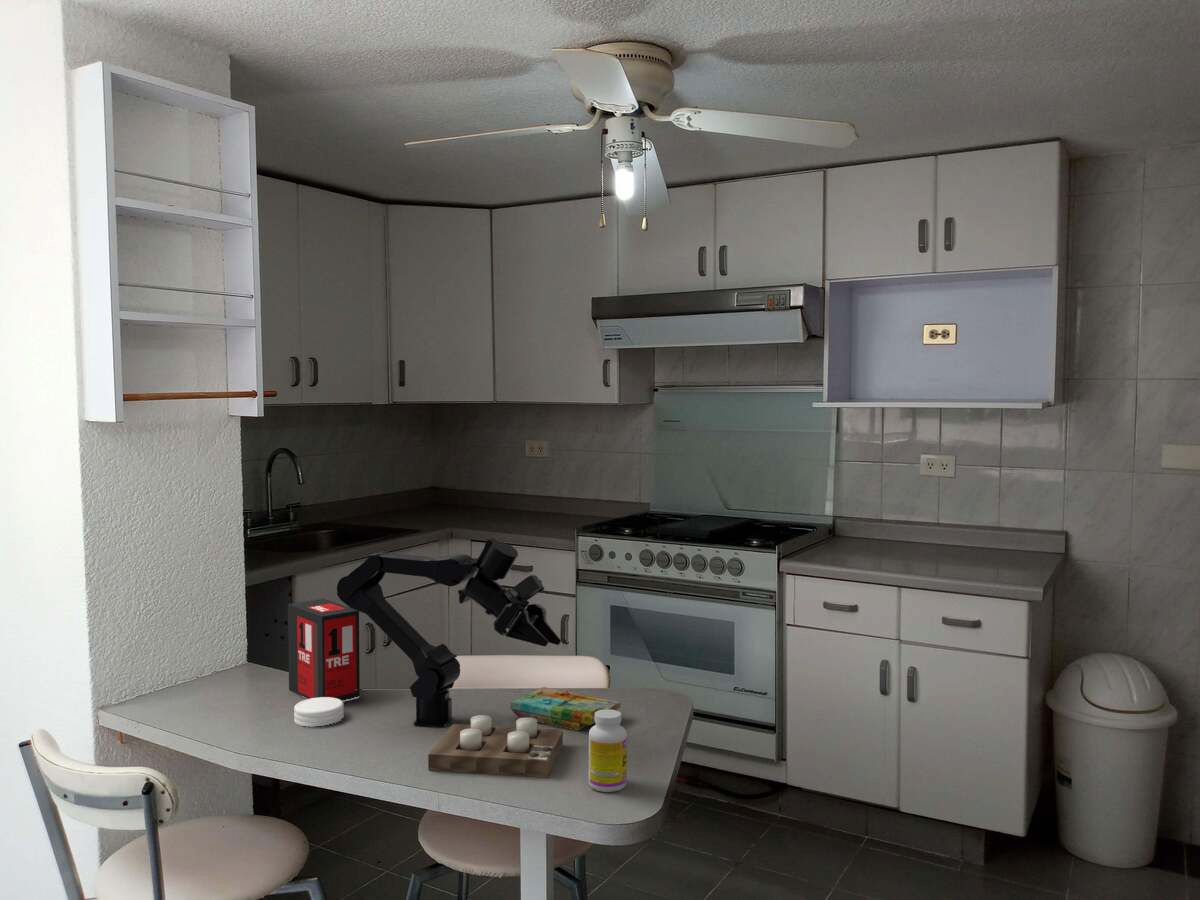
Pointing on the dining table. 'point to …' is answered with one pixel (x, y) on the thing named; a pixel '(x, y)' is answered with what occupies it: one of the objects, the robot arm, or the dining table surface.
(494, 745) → the button board
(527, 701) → the puzzle game
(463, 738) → the outer button
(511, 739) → the outer button
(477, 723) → the inner button
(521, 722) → the inner button
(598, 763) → the supplement bottle
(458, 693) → the dining table surface
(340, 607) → the cleaning product box
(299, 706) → the white short cylinder
